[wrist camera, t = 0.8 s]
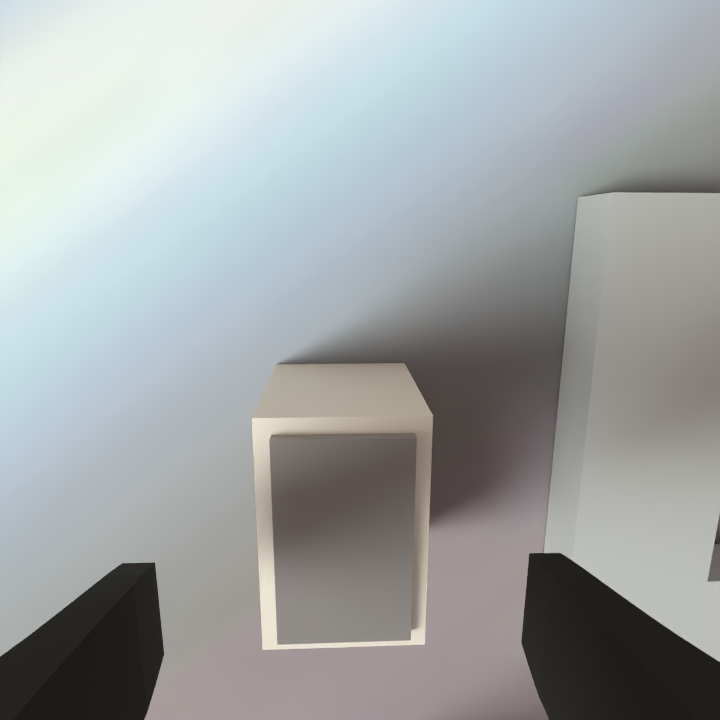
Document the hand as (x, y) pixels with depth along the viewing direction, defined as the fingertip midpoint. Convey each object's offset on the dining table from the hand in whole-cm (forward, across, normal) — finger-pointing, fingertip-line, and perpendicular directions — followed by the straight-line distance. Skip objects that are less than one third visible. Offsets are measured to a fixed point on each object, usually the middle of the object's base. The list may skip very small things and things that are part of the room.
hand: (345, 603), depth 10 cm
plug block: (+7, 0, 0) cm, 7 cm away
